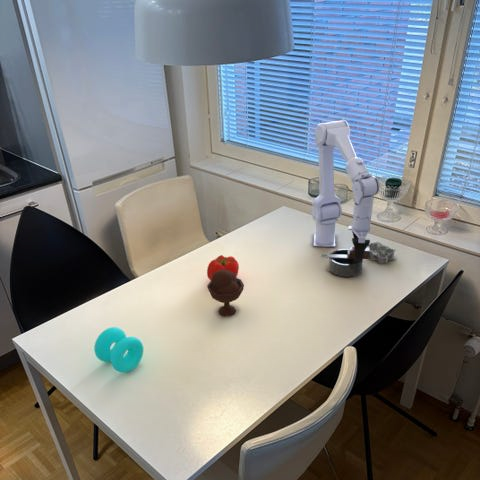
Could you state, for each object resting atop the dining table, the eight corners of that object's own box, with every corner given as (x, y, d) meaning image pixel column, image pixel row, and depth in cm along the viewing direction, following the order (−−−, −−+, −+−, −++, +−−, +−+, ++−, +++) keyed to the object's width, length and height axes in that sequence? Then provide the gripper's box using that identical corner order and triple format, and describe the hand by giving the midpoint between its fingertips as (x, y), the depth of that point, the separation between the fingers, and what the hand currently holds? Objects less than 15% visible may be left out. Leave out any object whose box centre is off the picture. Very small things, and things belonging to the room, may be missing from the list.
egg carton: (359, 254, 179) (360, 244, 177) (373, 248, 183) (374, 238, 180) (382, 265, 172) (383, 255, 170) (396, 258, 176) (398, 248, 173)
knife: (368, 255, 168) (369, 247, 166) (368, 259, 166) (369, 251, 164) (320, 254, 170) (321, 246, 168) (320, 257, 168) (321, 249, 166)
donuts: (124, 347, 141) (118, 319, 135) (148, 361, 136) (142, 332, 130) (96, 365, 135) (88, 337, 129) (119, 381, 130) (112, 352, 124)
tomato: (240, 273, 172) (239, 251, 166) (237, 290, 163) (236, 268, 158) (210, 273, 173) (208, 251, 168) (205, 290, 164) (203, 267, 159)
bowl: (328, 260, 176) (329, 248, 173) (360, 262, 175) (361, 249, 172) (328, 277, 167) (329, 264, 164) (362, 278, 166) (363, 265, 163)
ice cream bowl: (244, 320, 149) (243, 278, 140) (208, 321, 150) (204, 279, 141) (245, 301, 158) (243, 260, 149) (210, 301, 158) (206, 261, 149)
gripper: (348, 205, 165) (345, 241, 173) (350, 224, 153) (346, 262, 161) (370, 205, 164) (365, 242, 172) (373, 224, 152) (368, 263, 160)
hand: (358, 252), depth 166 cm, fingers open, 7 cm apart
